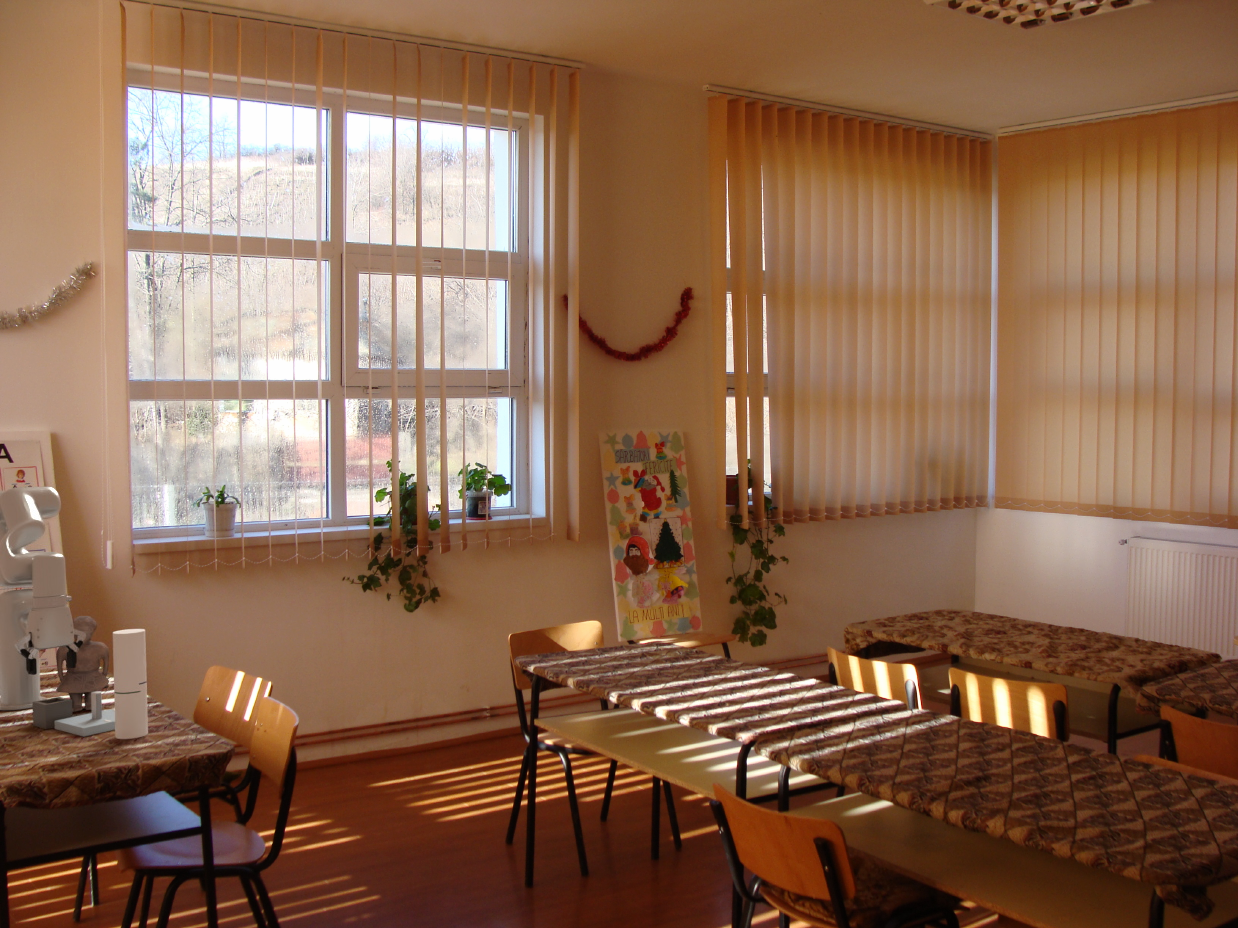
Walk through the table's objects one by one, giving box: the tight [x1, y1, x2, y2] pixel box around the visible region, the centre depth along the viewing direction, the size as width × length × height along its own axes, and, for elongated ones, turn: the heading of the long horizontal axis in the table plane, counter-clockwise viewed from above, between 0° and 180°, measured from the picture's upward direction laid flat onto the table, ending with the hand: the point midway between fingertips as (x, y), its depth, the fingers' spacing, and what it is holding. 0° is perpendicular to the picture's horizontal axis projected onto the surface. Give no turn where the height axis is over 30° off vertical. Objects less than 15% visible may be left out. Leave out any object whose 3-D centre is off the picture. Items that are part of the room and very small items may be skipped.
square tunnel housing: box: [32, 696, 73, 730], centre depth 270 cm, size 7×7×6 cm
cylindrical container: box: [112, 628, 149, 740], centre depth 257 cm, size 7×7×25 cm
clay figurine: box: [55, 615, 110, 713], centre depth 286 cm, size 13×10×25 cm
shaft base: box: [54, 690, 115, 737], centre depth 267 cm, size 14×14×8 cm
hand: (52, 670), depth 269 cm, fingers open, 9 cm apart
